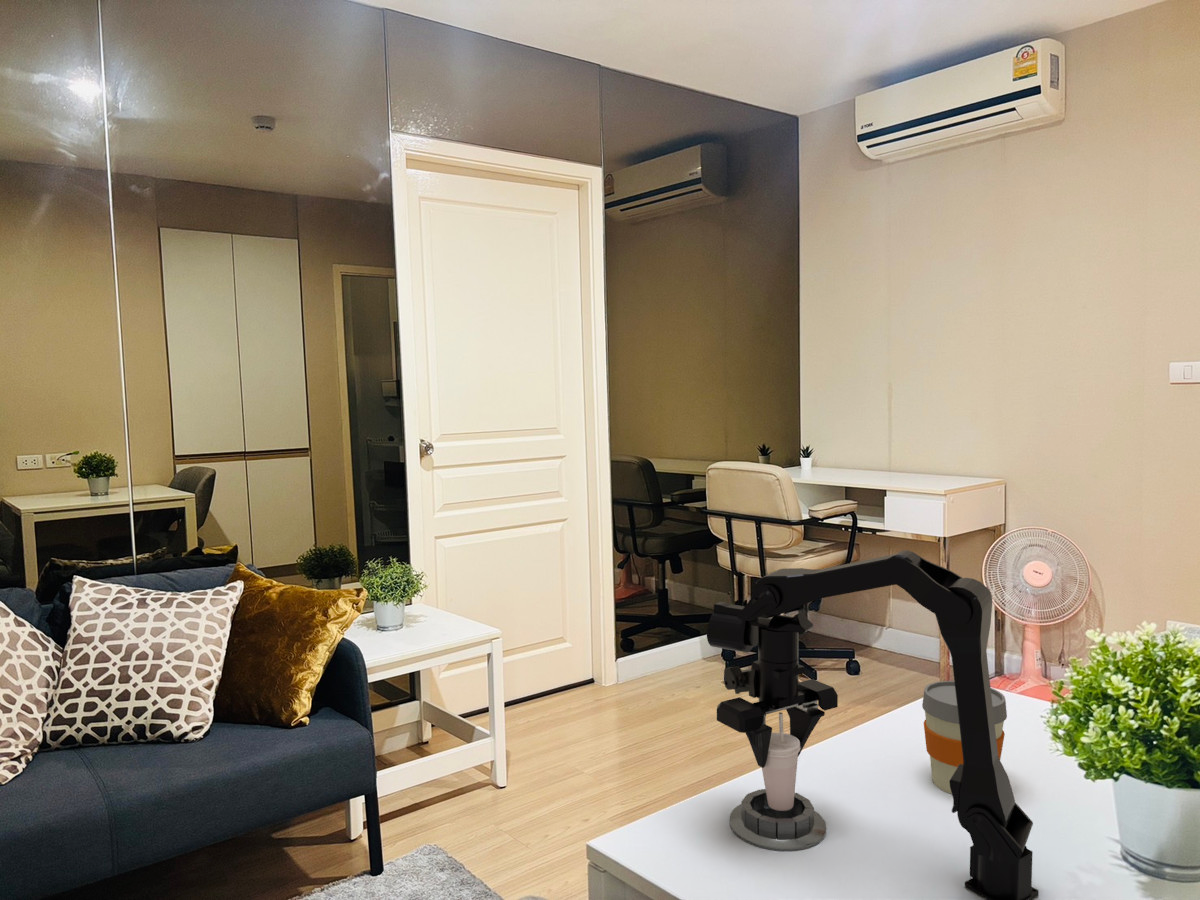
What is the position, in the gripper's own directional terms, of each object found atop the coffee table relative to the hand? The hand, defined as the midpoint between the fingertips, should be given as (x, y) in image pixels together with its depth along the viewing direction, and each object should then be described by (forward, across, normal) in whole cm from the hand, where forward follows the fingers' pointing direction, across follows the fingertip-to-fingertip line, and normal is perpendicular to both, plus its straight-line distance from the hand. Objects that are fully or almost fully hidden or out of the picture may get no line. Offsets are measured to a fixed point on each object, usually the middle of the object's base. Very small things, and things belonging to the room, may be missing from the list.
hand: (778, 761), depth 128 cm
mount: (+10, 0, 0) cm, 10 cm away
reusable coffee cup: (+10, -34, +6) cm, 36 cm away
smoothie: (+7, 0, 0) cm, 7 cm away
